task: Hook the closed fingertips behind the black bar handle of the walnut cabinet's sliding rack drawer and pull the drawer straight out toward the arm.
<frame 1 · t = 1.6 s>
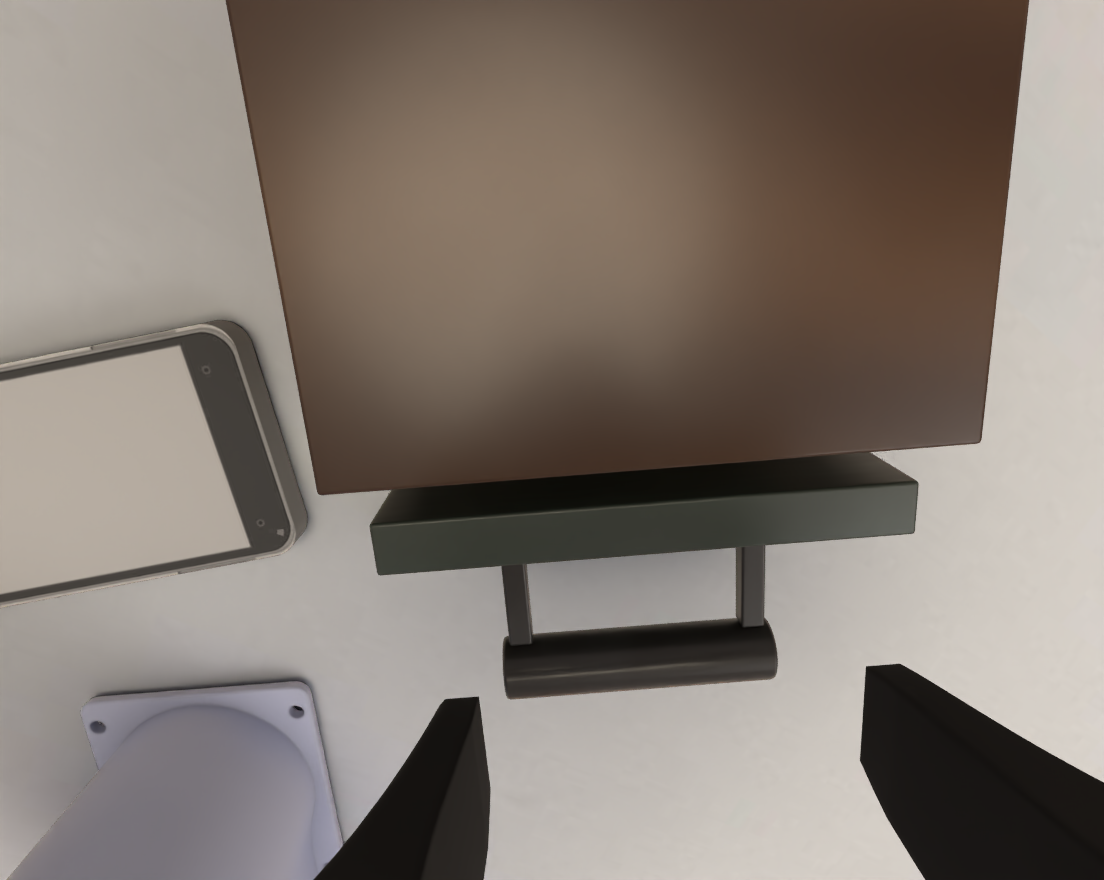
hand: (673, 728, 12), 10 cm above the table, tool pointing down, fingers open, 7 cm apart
cabinet: (591, 130, 19), on the table
rack drawer: (617, 334, 16), point 4 cm above the table, slide at 1.0 cm
smartphone: (57, 473, 21), on the table
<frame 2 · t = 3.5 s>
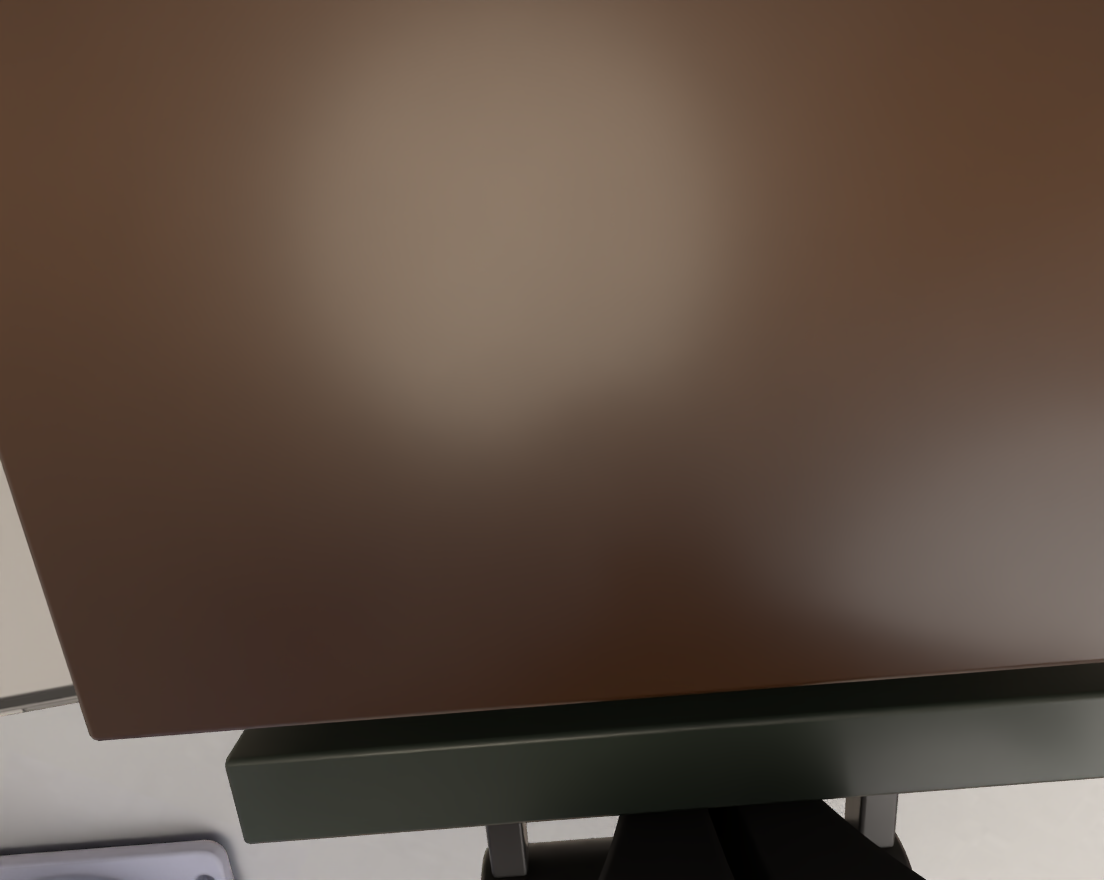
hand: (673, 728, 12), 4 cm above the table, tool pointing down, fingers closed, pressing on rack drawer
cabinet: (616, 69, 12), on the table
rack drawer: (666, 391, 10), point 4 cm above the table, slide at 1.1 cm, touching gripper
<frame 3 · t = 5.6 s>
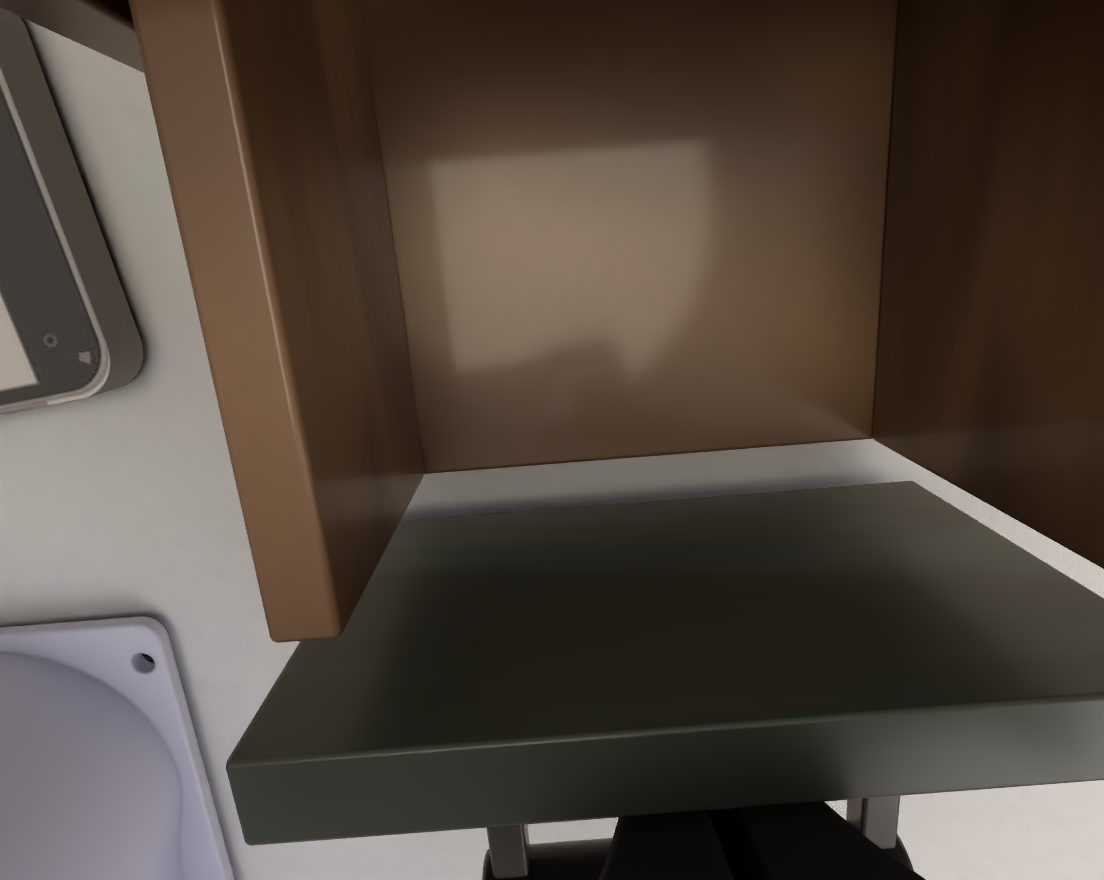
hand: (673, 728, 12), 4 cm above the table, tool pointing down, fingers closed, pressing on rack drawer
rack drawer: (668, 391, 10), point 4 cm above the table, slide at 7.6 cm, touching gripper
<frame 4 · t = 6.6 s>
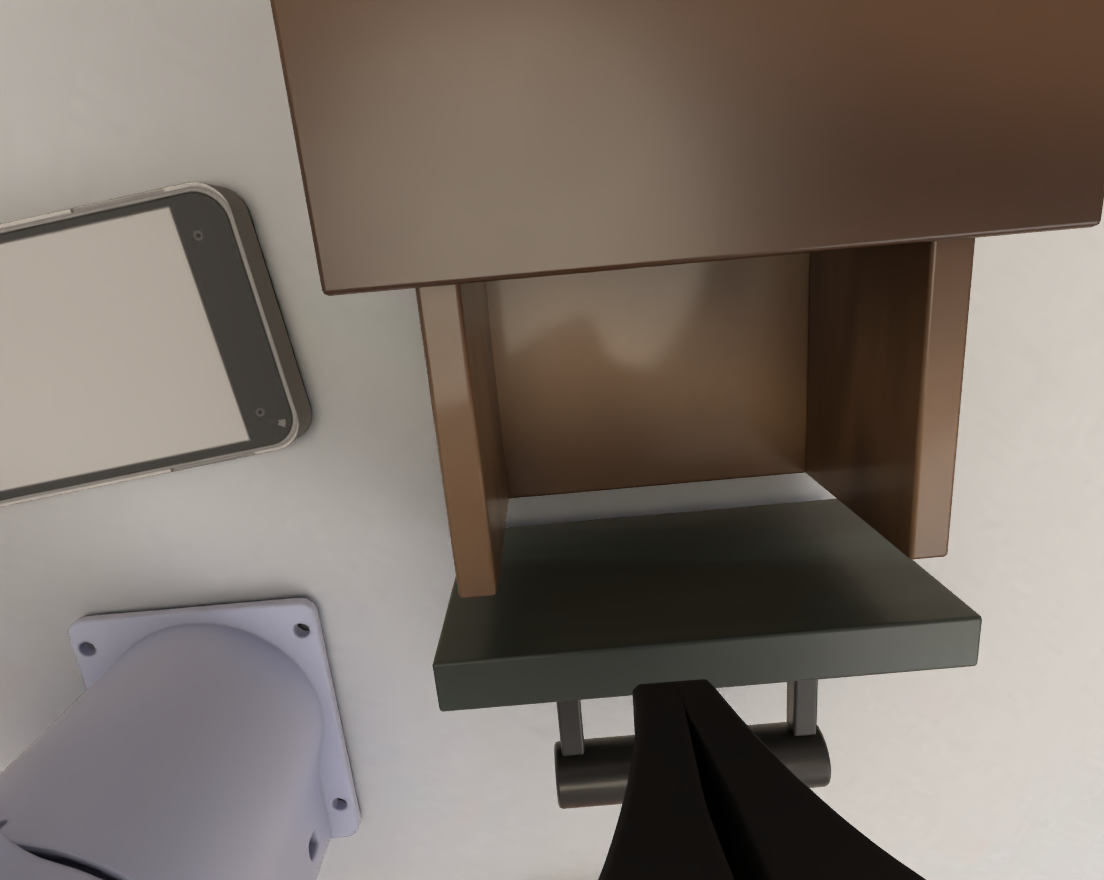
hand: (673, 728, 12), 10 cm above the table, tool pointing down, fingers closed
rack drawer: (670, 451, 16), point 4 cm above the table, slide at 7.6 cm
smartphone: (38, 365, 19), on the table
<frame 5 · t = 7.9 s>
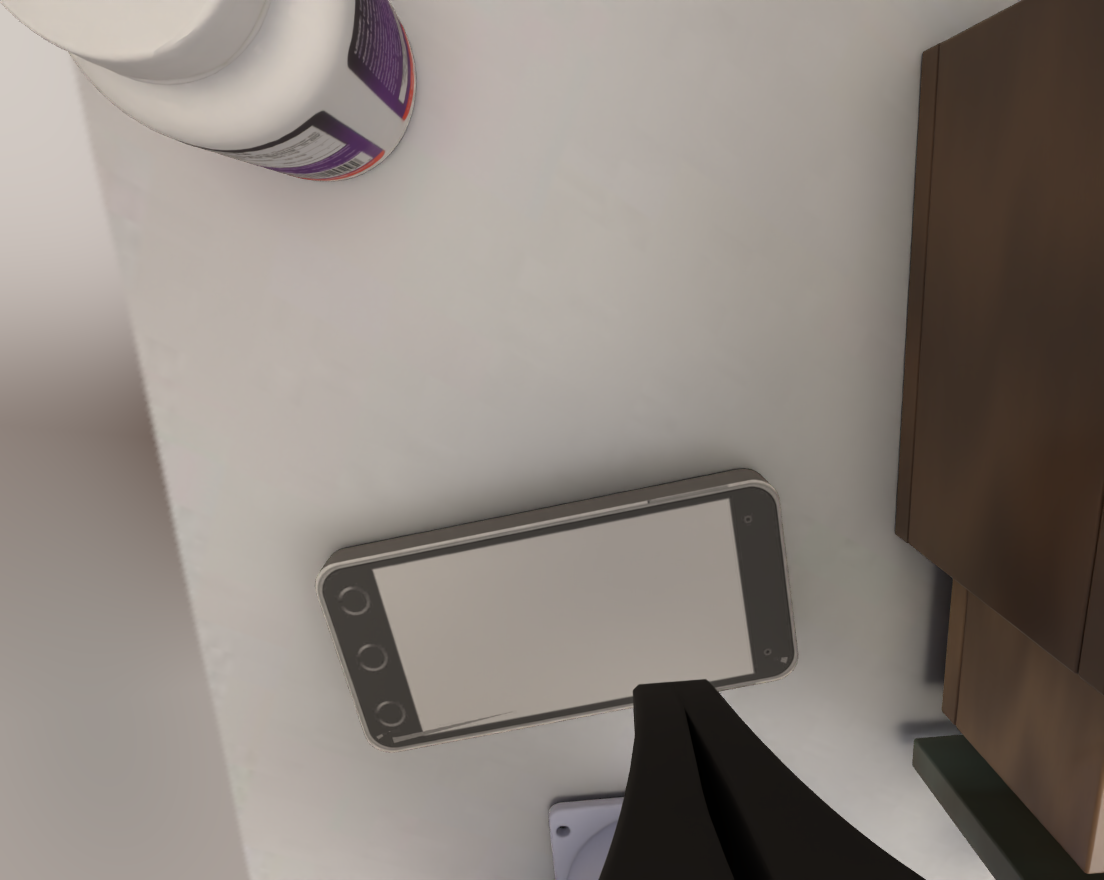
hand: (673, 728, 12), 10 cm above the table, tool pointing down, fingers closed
pill bottle: (323, 82, 18), on the table
smartphone: (561, 604, 23), on the table
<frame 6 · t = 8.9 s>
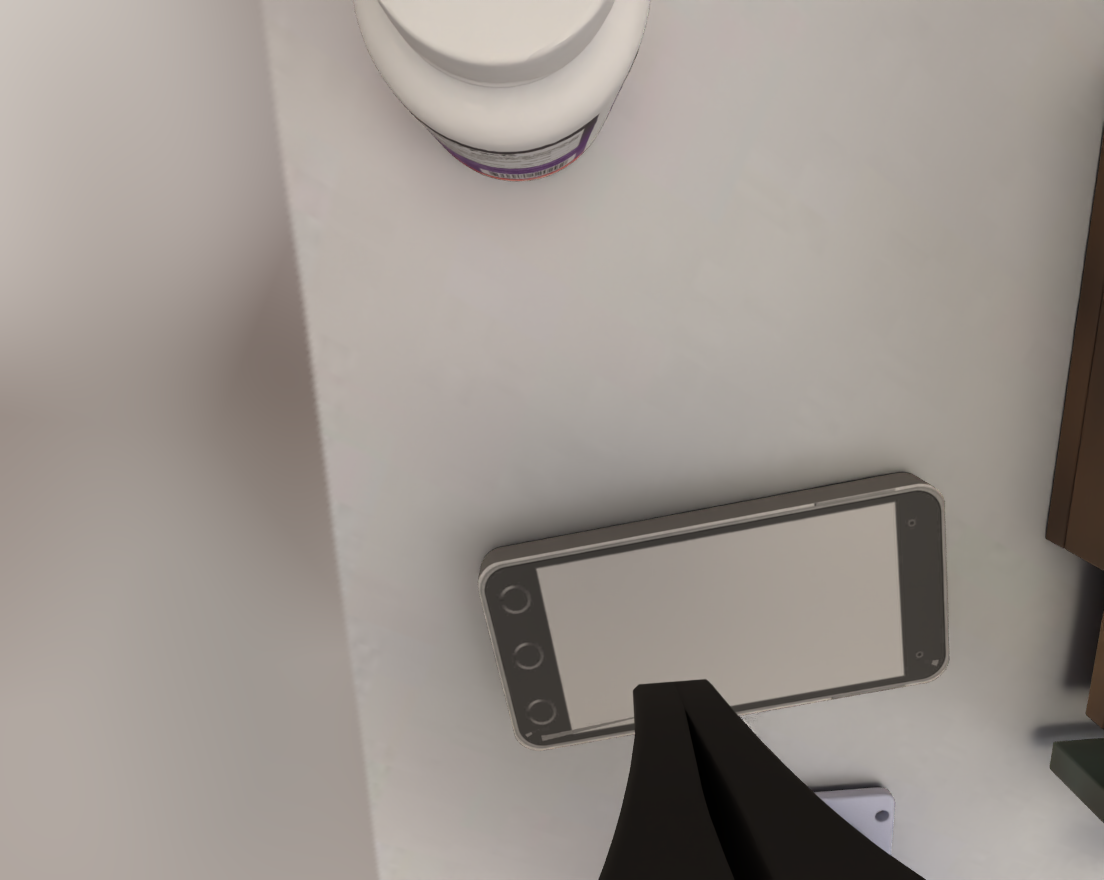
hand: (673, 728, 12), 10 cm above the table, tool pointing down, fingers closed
pill bottle: (515, 82, 18), on the table
smartphone: (709, 604, 23), on the table
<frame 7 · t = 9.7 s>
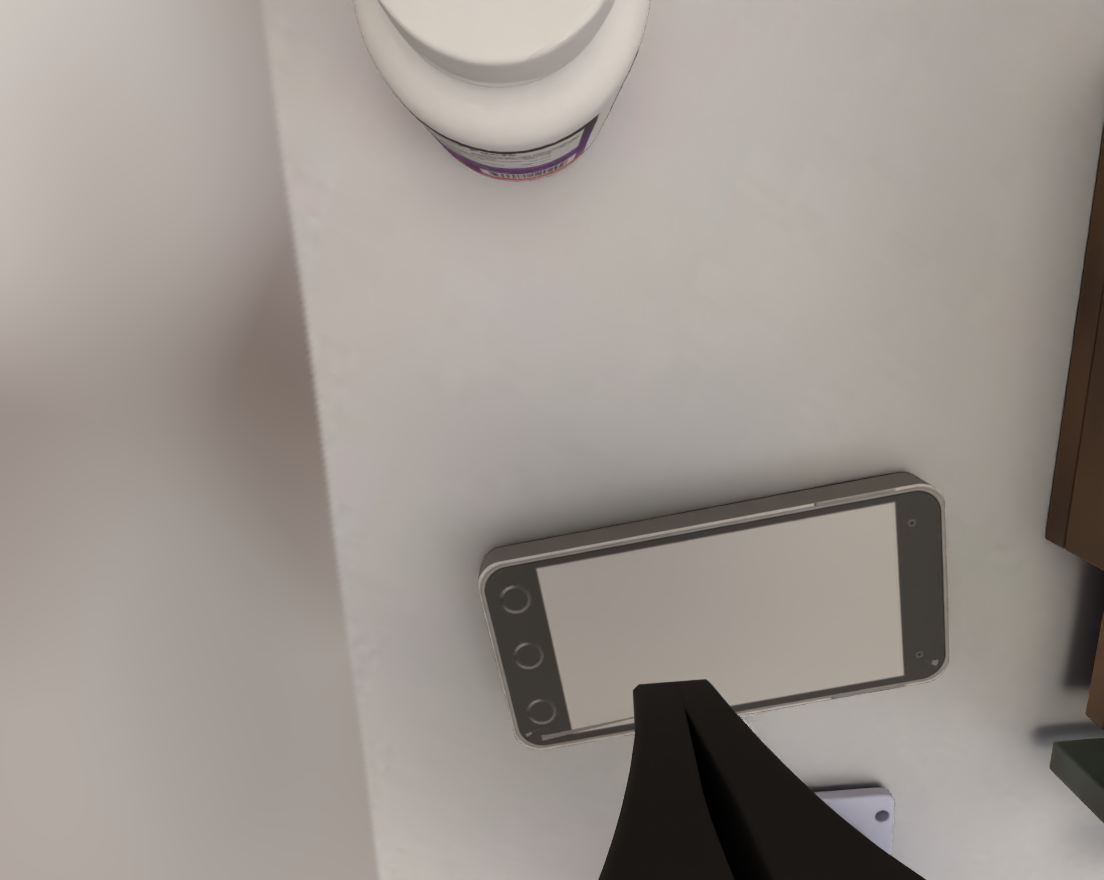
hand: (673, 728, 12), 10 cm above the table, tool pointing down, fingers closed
pill bottle: (515, 82, 18), on the table
smartphone: (709, 604, 23), on the table
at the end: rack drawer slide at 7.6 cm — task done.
